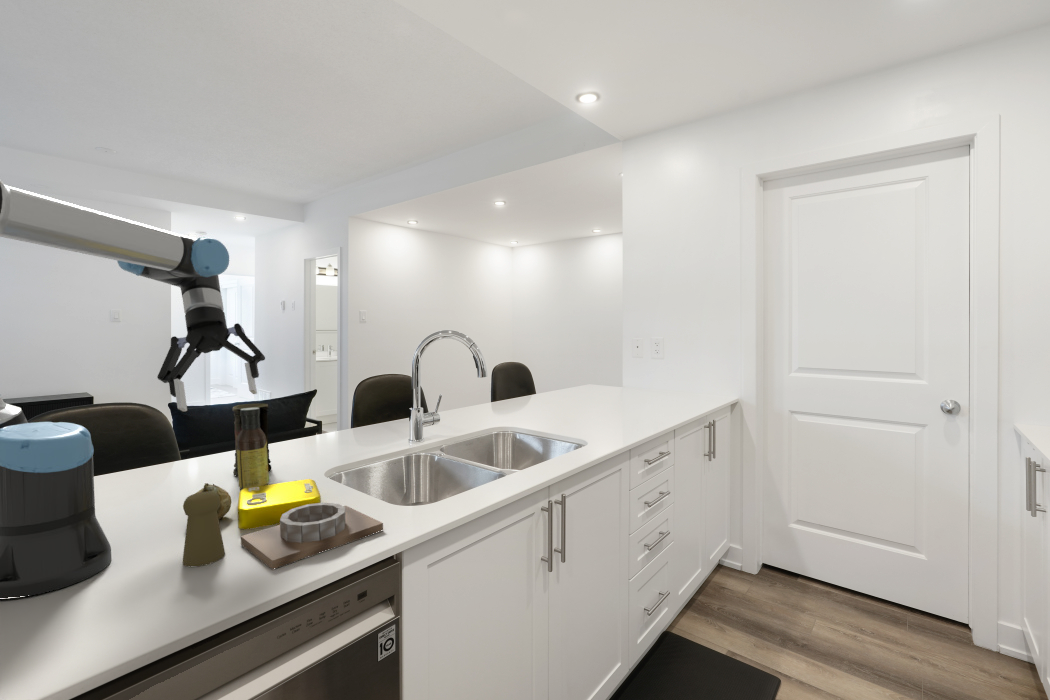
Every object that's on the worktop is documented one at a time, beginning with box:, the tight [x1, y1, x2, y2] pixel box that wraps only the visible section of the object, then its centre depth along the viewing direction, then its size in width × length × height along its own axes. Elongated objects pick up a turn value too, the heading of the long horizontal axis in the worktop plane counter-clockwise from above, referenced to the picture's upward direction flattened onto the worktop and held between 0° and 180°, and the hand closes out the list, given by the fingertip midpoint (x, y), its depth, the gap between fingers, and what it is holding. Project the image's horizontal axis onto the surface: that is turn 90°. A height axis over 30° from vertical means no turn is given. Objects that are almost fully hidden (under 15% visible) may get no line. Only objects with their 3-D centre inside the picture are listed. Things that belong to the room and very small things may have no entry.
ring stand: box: [240, 502, 384, 570], centre depth 91 cm, size 20×14×4 cm
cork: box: [182, 492, 226, 567], centre depth 83 cm, size 6×6×11 cm
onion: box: [194, 482, 232, 521], centre depth 100 cm, size 8×8×8 cm
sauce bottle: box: [237, 408, 270, 493], centre depth 116 cm, size 6×6×20 cm
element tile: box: [237, 478, 322, 530], centre depth 104 cm, size 15×15×5 cm
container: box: [232, 403, 272, 477], centre depth 132 cm, size 9×9×18 cm
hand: (218, 400), depth 105 cm, fingers open, 13 cm apart
